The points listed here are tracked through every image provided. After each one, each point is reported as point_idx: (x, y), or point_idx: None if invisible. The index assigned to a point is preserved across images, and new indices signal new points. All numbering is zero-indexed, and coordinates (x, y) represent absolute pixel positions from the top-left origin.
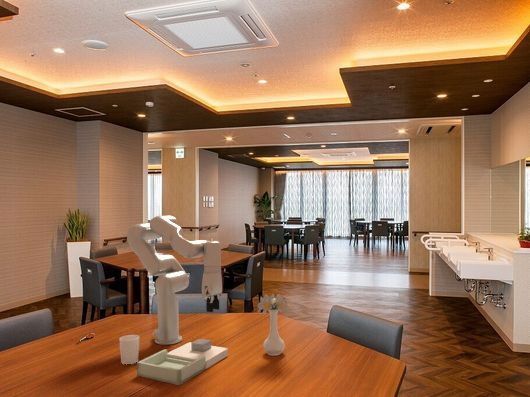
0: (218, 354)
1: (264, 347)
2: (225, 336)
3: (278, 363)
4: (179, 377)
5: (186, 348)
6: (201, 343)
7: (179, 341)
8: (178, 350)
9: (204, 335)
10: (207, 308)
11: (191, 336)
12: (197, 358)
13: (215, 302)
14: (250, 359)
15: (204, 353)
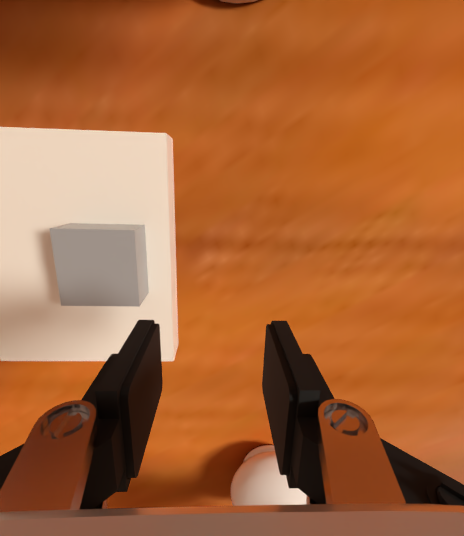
0: (97, 359)
1: (238, 473)
2: (405, 206)
3: (189, 502)
4: None
5: (74, 183)
6: (72, 286)
7: (237, 2)
8: (25, 161)
9: (396, 81)
10: (107, 366)
11: (359, 8)
12: (1, 313)
13: (278, 419)
14: (181, 426)
15: (67, 306)
